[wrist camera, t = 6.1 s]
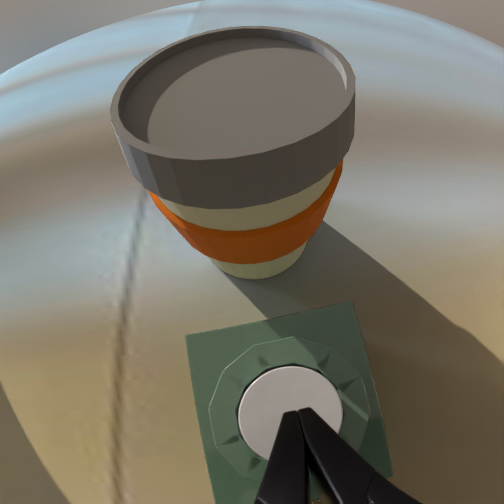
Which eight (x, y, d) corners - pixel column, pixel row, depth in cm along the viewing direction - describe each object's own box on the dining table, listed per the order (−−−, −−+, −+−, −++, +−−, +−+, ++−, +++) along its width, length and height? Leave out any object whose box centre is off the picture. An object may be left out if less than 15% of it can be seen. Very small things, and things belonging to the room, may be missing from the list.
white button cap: (342, 444, 12) (352, 450, 10) (253, 463, 12) (248, 473, 10) (324, 362, 14) (330, 355, 12) (236, 380, 14) (229, 376, 12)
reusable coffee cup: (262, 335, 23) (232, 228, 10) (153, 240, 28) (68, 109, 14) (358, 219, 27) (402, 67, 13) (248, 152, 31) (227, 13, 18)
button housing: (362, 457, 18) (407, 484, 10) (236, 484, 18) (209, 527, 10) (333, 329, 23) (359, 286, 15) (211, 354, 23) (172, 325, 15)
